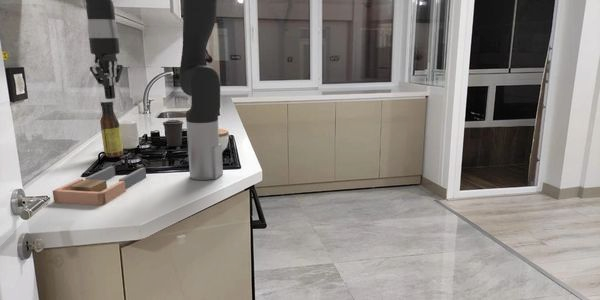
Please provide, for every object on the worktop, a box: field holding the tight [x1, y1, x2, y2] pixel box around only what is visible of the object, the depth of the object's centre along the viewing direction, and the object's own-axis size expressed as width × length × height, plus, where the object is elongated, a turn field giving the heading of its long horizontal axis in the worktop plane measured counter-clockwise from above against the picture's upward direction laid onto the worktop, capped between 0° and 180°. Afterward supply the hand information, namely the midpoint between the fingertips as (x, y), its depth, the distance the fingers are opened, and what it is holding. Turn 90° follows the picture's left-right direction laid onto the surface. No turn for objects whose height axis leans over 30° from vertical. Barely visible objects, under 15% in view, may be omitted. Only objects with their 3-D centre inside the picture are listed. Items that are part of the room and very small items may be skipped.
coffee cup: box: [162, 119, 184, 147], centre depth 168 cm, size 8×8×10 cm
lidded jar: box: [218, 128, 230, 153], centre depth 157 cm, size 11×11×9 cm
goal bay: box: [52, 178, 127, 206], centre depth 110 cm, size 14×10×3 cm
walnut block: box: [70, 178, 108, 192], centre depth 110 cm, size 6×6×4 cm
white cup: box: [118, 119, 140, 150], centre depth 164 cm, size 8×8×10 cm
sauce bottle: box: [99, 100, 124, 158], centre depth 149 cm, size 7×6×20 cm
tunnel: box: [84, 165, 147, 190], centre depth 122 cm, size 11×12×3 cm
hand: (110, 98), depth 121 cm, fingers closed
